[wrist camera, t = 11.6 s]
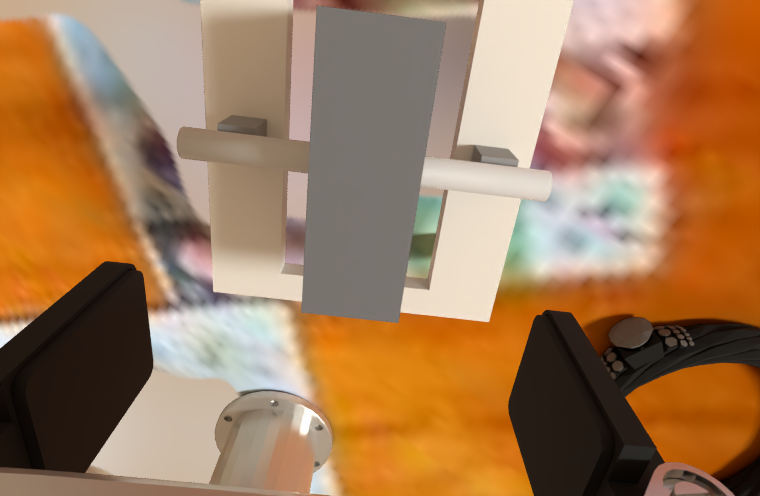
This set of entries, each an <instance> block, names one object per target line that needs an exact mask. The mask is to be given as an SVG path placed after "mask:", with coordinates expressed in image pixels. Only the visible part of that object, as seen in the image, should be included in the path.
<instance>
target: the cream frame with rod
mask: <svg viewBox="0 0 760 496" xmlns="http://www.w3.org/2000/svg"><path fill="white" fill-rule="evenodd" d="M573 2H574V0H480V1H479V6H478V12H477V17H476V22H475V28H474V33H473V38H472V44H471V49H470V54H469V60H468V65H467V71H466V76H465V82H464V87H463V92H462V98H461V103H460V109H459V114H458V119H457V125H456V130H455V135H454V140H453V146H452V151H451V157H450V159H445V158H437V157H429V156H425V160H424V166H423V173H422V179H421V185H420V187H427V188H436V189H444V194H443V199H442V205H441V210H440V216H439V221H438V226H437V232H436V237H435V242H434V248H433V253H432V259H431V264H430V269H429V275H428V279H423V278H414V277H406V279H405V285H404V292H403V298H402V304H401V310H400V312H403V313H412V314H421V315H431V316H440V317H449V318H458V319H467V320H476V321H485V322H489V319H490V316H491V312H492V308H493V304H494V300H495V297H496V293H497V289H498V285H499V282H500V278H501V274H502V270H503V266H504V263H505V259H506V255H507V251H508V248H509V244H510V240H511V236H512V232H513V229H514V225H515V221H516V217H517V213H518V210H519V206H520V202H521V199H528V200H536V201H546V200H547V199H548V197H549V195H550V192H551V188H552V174H551V172H550V171H545V170H536V169H529V168H530V164H531V160H532V157H533V153H534V149H535V145H536V142H537V138H538V134H539V130H540V126H541V123H542V119H543V115H544V111H545V107H546V104H547V100H548V96H549V92H550V89H551V85H552V81H553V77H554V73H555V70H556V66H557V62H558V58H559V55H560V51H561V47H562V43H563V39H564V36H565V32H566V28H567V24H568V20H569V17H570V13H571V9H572V5H573ZM200 4H201V25H202V46H203V70H204V90H205V91H204V93H205V115H206V129H198V128H190V127H182V128H181V129H180V131H179V133H178V137H177V150H178V154H179V156H180V157H181V158H183V159H192V160H200V161H208V181H209V202H210V225H211V248H212V270H213V292H221V293H230V294H240V295H249V296H258V297H267V298H276V299H285V300H294V301H302V288H303V269H304V265H299V264H290V263H285V246H286V214H287V182H288V171H293V172H301V173H308V171H309V151H310V142H306V141H297V140H289V120H290V88H291V87H290V86H291V57H292V25H293V0H200Z"/></svg>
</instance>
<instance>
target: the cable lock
mask: <svg viewBox="0 0 760 496" xmlns="http://www.w3.org/2000/svg"><path fill="white" fill-rule="evenodd" d="M653 329H654V330H653ZM608 335H609V339H610V341H611V342H612V343H613V344H614V345H615V346H616V348H617V349H618V351H619V352H617V353H616V352H615V350H614V349H613V348H608V349H607V350H606V351H605V353H604V356H603V354H602V355H601V356H600V359H601V360H602V362H603V364H604V365H605V367H606V368H607V370H608V372H609V373H610V375H611V376H612V378H613V379H614V381H615V383H616V384H617V386H618V387H619V389H620V391H621V392H622V394H623V395H624V397H626V396H627V395H628V394H629V393H631V392H632V391H633V390H635V389H636V388H637V387H639V386H642V385H644V384H646V383H648V382H650V381H652V380H655V379H657V378H659V377H661V376H664V375H666V374H669V373H672V372H674V371H677V370H680V369H683V368H688V367H693V366H698V365H705V364H714V363H742V364H749V365H753V366H756V367H759V368H760V329H758V328H755V327H753V326H751V325H742V324H720V325H707V324H698V325H693V326H689V327H684V328H683V327H681V326H678V325H673V326H672V325H664V326H655V327H654V328H653V327H652V325H651V322H649V321H648V320H646V319H645V318H642V317H631V318H627V319H624V320H621V321H620V322H618V323H617V324H615V325H614V326H613V327H612V328H611V330H610V332H609V334H608ZM605 355H606V356H605ZM721 483H722V484H723V485H724V486H725V487H726V488H727V489H729V490H730V491H731V492H732V493H733V494H734V496H760V458H759V459H758V460H756V461H755V462H754V463H753V464H751V465H750V466H749V467H748V468H746V469H745V470H744V471H742V472H741V473H740V474H738V475H736V476H734V477H731V478H728V479H725V480H723V481H721Z"/></svg>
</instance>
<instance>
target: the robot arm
mask: <svg viewBox="0 0 760 496" xmlns="http://www.w3.org/2000/svg"><path fill="white" fill-rule="evenodd" d="M152 370H153V354H152V346H151V337H150V328H149V320H148V311H147V303H146V294H145V285H144V277H143V274H142V272H141V271H137V270H136V268H135V266H134V265H133V264H128V263H119V262H110V261H106V262H104V263H102V264H101V265H100V266H99V267H97V268H96V269H95V270H94V271H93V272H91V273H90V274H89V275H88V276H87V277H85V278H84V279H83V280H82V281H81V282H79V283H78V284H77V285H76V286H75V287H73V288H72V289H71V290H70V291H69V292H67V293H66V294H65V295H64V296H63V297H61V298H60V299H59V300H58V301H57V302H55V303H54V304H53V305H52V306H51V307H49V308H48V309H47V310H46V311H45V312H43V313H42V314H41V315H40V316H39V317H37V318H36V319H35V320H34V321H33V322H31V323H30V324H29V325H28V326H27V327H25V328H24V329H23V330H22V331H21V332H19V333H18V334H17V335H16V336H15V337H13V338H12V339H11V340H10V341H9V342H7V343H6V344H5V345H4V346H3V347H1V348H0V496H329V495H319V494H309V493H310V487H311V481H312V475H313V473H314V472H316V471H317V470H318V469H320V468H321V467H322V466H323V465H324V464H325V463H326V461H327V459H328V458H329V456H330V453H331V449H332V441H333V435H332V429H331V427H330V424H329V422H328V420H327V419H326V417H325V416H324V415H323V413H322V412H320V411H319V410H318V409H317V408H316V407H315V406H314V405H312V404H311V403H309V402H308V401H306V400H304V399H301V398H299V397H297V396H294V395H291V394H287V393H283V392H275V391H261V392H254V393H250V394H247V395H244V396H241V397H239V398H237V399H235V400H234V401H232V402H231V403H230V404H229V405H227V407H225V409H224V410H223V411H222V413H221V415H220V417H219V419H218V422H217V424H216V428H215V440H216V443H217V446H218V449H219V450H220V452H221V455H220V457H219V459H218V462H217V465H216V467H215V470H214V472H213V475H212V477H211V480H210V482H209V484H202V483H191V482H179V481H168V480H157V479H146V478H135V477H134V478H133V477H124V476H113V475H102V474H90V473H85V472H86V470H87V469H88V467H89V466H90V465H91V463H92V462H93V460H94V459H95V457H96V456H97V454H98V453H99V451H100V450H101V448H102V447H103V445H104V444H105V442H106V441H107V439H108V438H109V437H110V435H111V433H112V432H113V431H114V429H115V428H116V426H117V425H118V423H119V422H120V420H121V419H122V417H123V416H124V414H125V413H126V412H127V410H128V408H129V407H130V406H131V404H132V402H133V401H134V400H135V398H136V397H137V395H138V394H139V392H140V391H141V389H142V388H143V386H144V385H145V384H146V382H147V381H148V379H149V377H150V376H151V373H152ZM508 409H509V416H510V419H511V422H512V425H513V429H514V432H515V435H516V438H517V442H518V445H519V448H520V452H521V455H522V458H523V461H524V465H525V468H526V471H527V474H528V478H529V481H530V484H531V487H532V491H533V494H534V496H734V494H733V493H732V492H731V491H730V490H729V489H727V488H726V487H725V486H724V485H723V484H722V483H721V482H720V481H718V480H716V479H715V478H713V477H712V476H710V475H709V474H707V473H706V472H704V471H701V470H699V469H697V468H695V467H693V466H690V465H686V464H682V463H677V462H667V463H665V462H664V460H663V459H662V457H661V456H660V454H659V452H658V451H657V448H656V446H655V445H654V443H653V441H652V440H651V438H650V437H649V435H648V433H647V432H646V430H645V429H644V427H643V425H642V424H641V422H640V421H639V419H638V418H637V416H636V414H635V413H634V411H633V410H632V408H631V406H630V405H629V403H628V402H627V400H626V398H625V397H624V395H623V394H622V392H621V391H620V389H619V387H618V386H617V384H616V383H615V381H614V379H613V378H612V376H611V375H610V373H609V372H608V370H607V368H606V367H605V365H604V364H603V362H602V360H601V359H600V357H599V356H598V354H597V352H596V351H595V349H594V348H593V346H592V345H591V343H590V341H589V340H588V338H587V337H586V335H585V333H584V332H583V330H582V329H581V327H580V325H579V324H578V322H577V321H576V319H575V318H574V316H573V315H572V314H571V313H569V312H561V311H552V310H546V311H544V312H543V314H542V315H537V316H536V317H535V319H534V321H533V324H532V328H531V331H530V334H529V337H528V340H527V344H526V347H525V350H524V353H523V357H522V360H521V363H520V366H519V369H518V373H517V376H516V379H515V382H514V385H513V389H512V392H511V395H510V398H509V405H508Z"/></svg>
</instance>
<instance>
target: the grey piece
mask: <svg viewBox="0 0 760 496" xmlns="http://www.w3.org/2000/svg"><path fill="white" fill-rule="evenodd" d="M445 29H446V22H440V21H433V20H425V19H417V18H409V17H402V16H394V15H386V14H378V13H371V12H363V11H355V10H348V9H340V8H332V7H324V6H317V14H316V34H315V53H314V73H313V92H312V113H311V133H310V151H309V171H308V190H307V211H306V230H305V249H304V269H303V288H302V308H301V312H302V313H311V314H321V315H330V316H339V317H348V318H358V319H367V320H376V321H385V322H395V323H399V317H400V310H401V304H402V298H403V292H404V285H405V279H406V273H407V266H408V260H409V254H410V248H411V241H412V235H413V229H414V223H415V216H416V210H417V204H418V198H419V191H420V185H421V179H422V173H423V166H424V160H425V154H426V148H427V140H428V135H429V129H430V122H431V116H432V110H433V103H434V97H435V91H436V85H437V78H438V72H439V66H440V60H441V54H442V47H443V41H444V35H445Z"/></svg>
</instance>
